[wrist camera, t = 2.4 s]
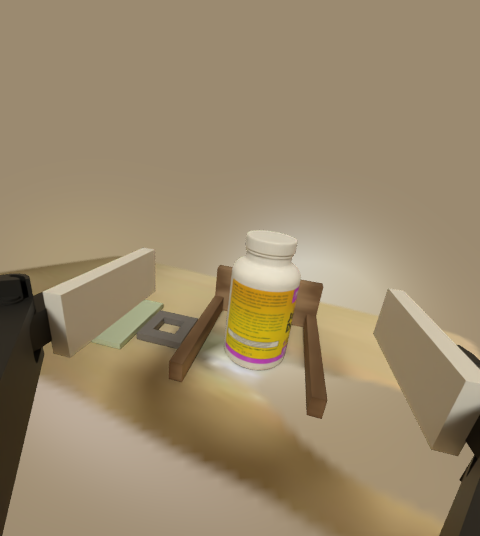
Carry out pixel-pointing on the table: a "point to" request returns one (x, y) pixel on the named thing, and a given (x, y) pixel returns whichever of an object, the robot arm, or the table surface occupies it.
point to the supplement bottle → (262, 300)
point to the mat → (128, 324)
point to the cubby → (301, 317)
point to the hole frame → (164, 338)
